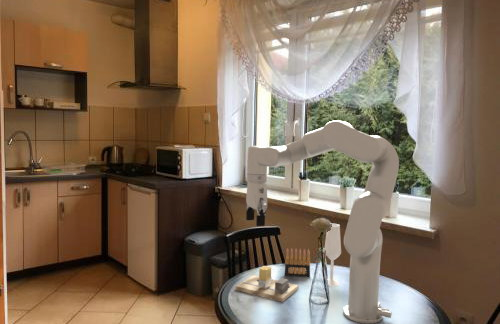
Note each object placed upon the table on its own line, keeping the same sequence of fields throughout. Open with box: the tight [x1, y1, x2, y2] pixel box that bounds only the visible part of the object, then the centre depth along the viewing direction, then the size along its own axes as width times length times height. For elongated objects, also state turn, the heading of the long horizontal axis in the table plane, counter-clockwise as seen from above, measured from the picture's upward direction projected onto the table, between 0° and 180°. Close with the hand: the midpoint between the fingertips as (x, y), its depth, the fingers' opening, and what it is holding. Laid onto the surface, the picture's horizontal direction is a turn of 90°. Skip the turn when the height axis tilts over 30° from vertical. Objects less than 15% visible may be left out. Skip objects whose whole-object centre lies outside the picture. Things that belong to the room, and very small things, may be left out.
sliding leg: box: [258, 265, 274, 289], centre depth 151 cm, size 3×8×7 cm, turn 150°
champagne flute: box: [324, 223, 342, 287], centre depth 159 cm, size 7×7×24 cm
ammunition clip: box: [284, 247, 311, 278], centre depth 167 cm, size 11×2×12 cm, turn 84°
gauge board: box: [235, 274, 299, 303], centre depth 152 cm, size 20×14×6 cm
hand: (255, 222), depth 151 cm, fingers open, 9 cm apart
